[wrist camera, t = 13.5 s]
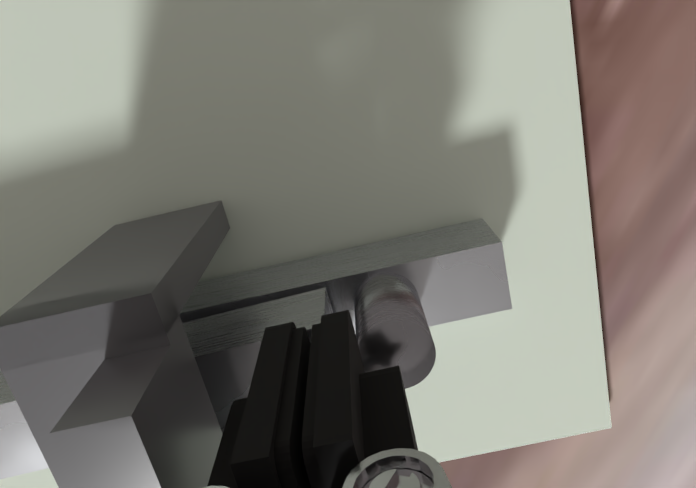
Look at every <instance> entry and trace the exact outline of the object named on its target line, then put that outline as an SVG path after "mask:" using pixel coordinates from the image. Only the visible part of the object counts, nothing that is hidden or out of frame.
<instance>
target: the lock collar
mask: <svg viewBox="0 0 696 488" xmlns="http://www.w3.org/2000/svg"><path fill="white" fill-rule="evenodd" d="M229 229H230V226H229V223H228V219H227V216H226V213H225V210H224V207H223V204H222V200H220V201H216V202H212V203H208V204H203V205H199V206H195V207H190V208H186V209H182V210H177V211H173V212H169V213H165V214H160V215H156V216H152V217H147V218H143V219H139V220H135V221H130V222H126V223H122V224H117V225H114V226H113V227H111V228H110V229H109V230H108V231H106V232H105V233H104V234H103V235H101V236H100V237H99V238H98V239H96V240H95V241H94V242H93V243H91V244H90V245H89V246H88V247H86V248H85V249H84V250H83V251H81V252H80V253H79V254H78V255H76V256H75V257H74V258H73V259H71V260H70V261H69V262H68V263H66V264H65V265H64V266H63V267H61V268H60V269H59V270H58V271H56V272H55V273H54V274H53V275H51V276H50V277H49V278H48V279H46V280H45V281H44V282H43V283H41V284H40V285H39V286H38V287H36V288H35V289H34V290H33V291H31V292H30V293H29V294H28V295H26V296H25V297H24V298H23V299H21V300H20V301H19V302H18V303H16V304H15V305H14V306H13V307H11V308H10V309H9V310H8V311H6V312H5V313H4V314H3V315H1V316H0V369H1V371H2V373H3V375H4V377H5V379H6V381H7V383H8V385H9V387H10V389H11V391H12V393H13V395H14V398H15V400H16V402H17V404H18V406H19V408H20V410H21V412H22V414H23V416H24V418H25V420H26V422H27V424H28V426H29V428H30V430H31V432H32V434H33V436H34V438H35V440H36V442H37V444H38V446H39V448H40V450H41V452H42V454H43V456H44V459H45V461H46V463H47V465H48V467H49V469H50V471H51V473H52V475H53V477H54V479H55V481H56V483H57V485H58V487H59V488H203V487H207V485H208V482H209V478H210V475H211V472H212V468H213V465H214V462H215V458H216V455H217V452H218V448H219V445H220V441H221V438H222V435H223V431H224V428H225V427H223V428H220V426H219V423H218V420H217V417H216V415H215V412H214V409H213V406H212V404H211V401H210V398H209V395H208V393H207V390H206V387H205V384H204V382H203V379H202V376H201V373H200V371H199V368H198V365H197V362H196V360H195V357H194V354H193V351H192V349H191V346H190V343H189V340H188V337H187V335H186V332H185V329H184V326H183V324H182V321H181V318H180V315H179V314H180V312H181V310H182V309H183V307H184V305H185V304H186V302H187V300H188V299H189V297H190V295H191V294H192V292H193V290H194V288H195V287H196V285H197V283H198V282H199V280H200V278H201V277H202V275H203V273H204V272H205V270H206V268H207V267H208V265H209V263H210V262H211V260H212V258H213V256H214V255H215V253H216V251H217V250H218V248H219V246H220V245H221V243H222V241H223V240H224V238H225V236H226V235H227V233H228V231H229Z"/></svg>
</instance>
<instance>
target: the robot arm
mask: <svg viewBox="0 0 696 488" xmlns="http://www.w3.org/2000/svg"><path fill="white" fill-rule="evenodd" d="M203 488H452V486H451V484H450V482H449V480H448V478H447V476H446V474H445V472H444V470H443V468H442V467H441V465H440V464H439V463H438V462H437V460H436V459H435V458H433V457H431V456H430V455H428V454H427V453H425V452H422V451H418V447H417V442H416V437H415V433H414V428H413V423H412V419H411V414H410V410H409V405H408V401H407V397H406V392H405V388H404V384H403V379H402V375H401V371H400V367H399V366H394V367H389V368H384V369H380V370H375V371H370V372H365V370H364V366H363V362H362V358H361V354H360V350H359V346H358V342H357V338H356V334H355V330H354V326H353V322H352V319H351V315H350V312H349V310H345V311H340V312H335V313H331V314H326V315H322V316H321V323H319V324H314V325H312V332H311V343H310V339H309V336H308V333H307V330H306V328H305V327H300V328H296V326H295V324H294V322H289V323H285V324H280V325H276V326H271V327H266V328H265V331H264V334H263V338H262V342H261V346H260V350H259V354H258V358H257V362H256V365H255V369H254V373H253V377H252V381H251V385H250V389H249V393H248V396H247V398H242V399H237V400H235V401H233V403H232V405H231V408H230V411H229V414H228V418H227V421H226V425H225V428H224V431H223V435H222V438H221V441H220V445H219V448H218V452H217V455H216V458H215V462H214V465H213V468H212V472H211V475H210V478H209V482H208V485H207V487H203Z"/></svg>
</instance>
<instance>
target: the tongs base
mask: <svg viewBox="0 0 696 488" xmlns="http://www.w3.org/2000/svg"><path fill="white" fill-rule="evenodd" d="M325 287H326V290H327V294H328V297H329V300H330V304H331V307H332V310H333V313H335V312H340V311H345V310H349V312H350V315H351V319H352V322H353V326H354V330H355V334H356V338H357V342H358V346H359V350H360V354H361V358H362V362H363V366H364V370H365V372H370V371H375V370H380V369H384V368H389V367H394V366H399V367H400V371H401V375H402V379H403V384H404V388H405V389H406V388H410V387H412V386H415V385H417V384H418V383H420V382H421V381H423V380H424V379H425V378H426V377H427V376H428V374H429V373H430V372H431V370H432V368H433V366H434V363H435V359H436V349H435V345H434V342H433V339H432V336H431V332H430V329H429V327H430V326H434V325H439V324H444V323H448V322H453V321H458V320H462V319H467V318H472V317H476V316H481V315H486V314H490V313H495V312H500V311H504V310H509V309H512V304H511V297H510V291H509V284H508V277H507V271H506V264H505V258H504V251H503V245H502V241H501V240H500V239H499V238H498V236H497V235H496V234H495V233H494V232H493V230H492V229H491V228H490V227H489V226H488V224H487V223H486V222H485V221H484V220H483V219H482V218H481V219H476V220H472V221H467V222H463V223H459V224H454V225H450V226H445V227H441V228H436V229H432V230H427V231H423V232H419V233H414V234H410V235H405V236H401V237H396V238H392V239H387V240H383V241H378V242H374V243H370V244H365V245H361V246H356V247H352V248H347V249H343V250H338V251H334V252H329V253H325V254H321V255H316V256H312V257H307V258H303V259H298V260H294V261H289V262H285V263H280V264H276V265H272V266H267V267H263V268H258V269H254V270H249V271H245V272H240V273H236V274H232V275H227V276H223V277H218V278H214V279H209V280H205V281H200V282H198V283H197V285H196V287H195V288H194V290H193V292H192V294H191V295H190V297H189V299H188V300H187V302H186V304H185V305H184V307H183V309H182V310H181V312H180V314H179V315H180V318H181V321H182V323H183V322H187V321H191V320H196V319H200V318H204V317H208V316H212V315H216V314H220V313H224V312H228V311H232V310H236V309H240V308H244V307H248V306H252V305H256V304H260V303H264V302H268V301H272V300H276V299H280V298H284V297H288V296H292V295H296V294H300V293H304V292H308V291H312V290H317V289H321V288H325Z"/></svg>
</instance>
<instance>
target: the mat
mask: <svg viewBox="0 0 696 488" xmlns="http://www.w3.org/2000/svg"><path fill="white" fill-rule="evenodd" d="M220 200H222V204H223V207H224V210H225V213H226V216H227V219H228V223H229V226H230V229H229V231H228V233H227V235H226V236H225V238H224V240H223V241H222V243H221V245H220V246H219V248H218V250H217V251H216V253H215V255H214V256H213V258H212V260H211V262H210V263H209V265H208V267H207V268H206V270H205V272H204V273H203V275H202V277H201V278H200V280H199V282H200V281H205V280H209V279H214V278H218V277H223V276H227V275H232V274H236V273H240V272H245V271H249V270H254V269H258V268H263V267H267V266H272V265H276V264H280V263H285V262H289V261H294V260H298V259H303V258H307V257H312V256H316V255H321V254H325V253H329V252H334V251H338V250H343V249H347V248H352V247H356V246H361V245H365V244H370V243H374V242H378V241H383V240H387V239H392V238H396V237H401V236H405V235H410V234H414V233H419V232H423V231H427V230H432V229H436V228H441V227H445V226H450V225H454V224H459V223H463V222H467V221H472V220H476V219H481V218H482V219H483V220H484V221H485V222H486V223H487V224H488V226H489V227H490V228H491V229H492V230H493V232H494V233H495V234H496V235H497V236H498V238H499V239H500V240H501V241H502V245H503V251H504V258H505V264H506V271H507V277H508V284H509V291H510V297H511V304H512V309H509V310H504V311H500V312H495V313H490V314H486V315H481V316H476V317H472V318H467V319H462V320H458V321H453V322H448V323H444V324H439V325H434V326H430V327H429V329H430V332H431V336H432V339H433V342H434V345H435V349H436V359H435V363H434V366H433V368H432V370H431V372H430V373H429V374H428V376H427V377H426V378H425V379H424V380H423V381H421V382H420V383H418V384H417V385H415V386H412V387H410V388H406V389H405V392H406V397H407V401H408V405H409V410H410V414H411V419H412V423H413V428H414V433H415V437H416V442H417V447H418V451H422V452H425V453H427V454H428V455H430V456H431V457H433V458H435V459H436V460H437V462H438V463H439V462H444V461H449V460H454V459H459V458H464V457H469V456H474V455H479V454H484V453H489V452H494V451H499V450H504V449H509V448H514V447H519V446H524V445H529V444H534V443H539V442H544V441H549V440H554V439H559V438H564V437H569V436H574V435H579V434H584V433H589V432H594V431H599V430H604V429H609V428H612V426H611V416H610V406H609V396H608V386H607V376H606V365H605V355H604V345H603V335H602V325H601V315H600V304H599V294H598V284H597V274H596V264H595V254H594V243H593V233H592V223H591V213H590V203H589V193H588V182H587V172H586V162H585V152H584V142H583V132H582V121H581V111H580V101H579V91H578V81H577V71H576V60H575V50H574V40H573V30H572V20H571V10H570V0H0V316H1V315H3V314H4V313H5V312H6V311H8V310H9V309H10V308H11V307H13V306H14V305H15V304H16V303H18V302H19V301H20V300H21V299H23V298H24V297H25V296H26V295H28V294H29V293H30V292H31V291H33V290H34V289H35V288H36V287H38V286H39V285H40V284H41V283H43V282H44V281H45V280H46V279H48V278H49V277H50V276H51V275H53V274H54V273H55V272H56V271H58V270H59V269H60V268H61V267H63V266H64V265H65V264H66V263H68V262H69V261H70V260H71V259H73V258H74V257H75V256H76V255H78V254H79V253H80V252H81V251H83V250H84V249H85V248H86V247H88V246H89V245H90V244H91V243H93V242H94V241H95V240H96V239H98V238H99V237H100V236H101V235H103V234H104V233H105V232H106V231H108V230H109V229H110V228H111V227H113V226H114V225H117V224H122V223H126V222H130V221H135V220H139V219H143V218H147V217H152V216H156V215H160V214H165V213H169V212H173V211H177V210H182V209H186V208H190V207H195V206H199V205H203V204H208V203H212V202H216V201H220ZM0 488H59V487H58V485H57V483H56V481H55V479H54V477H53V475H52V473H51V471H50V469H49V468H47V469H43V470H39V471H34V472H30V473H26V474H22V475H17V476H13V477H9V478H4V479H0Z"/></svg>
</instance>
